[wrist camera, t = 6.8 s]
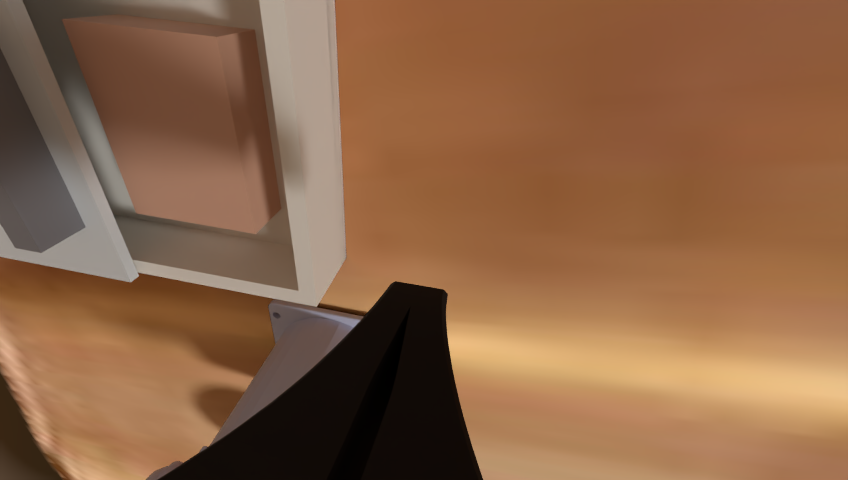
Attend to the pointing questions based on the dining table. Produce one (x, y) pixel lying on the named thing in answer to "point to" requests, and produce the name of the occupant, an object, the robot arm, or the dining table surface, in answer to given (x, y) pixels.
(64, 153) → the lid
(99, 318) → the dining table surface
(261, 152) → the box
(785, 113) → the dining table surface
